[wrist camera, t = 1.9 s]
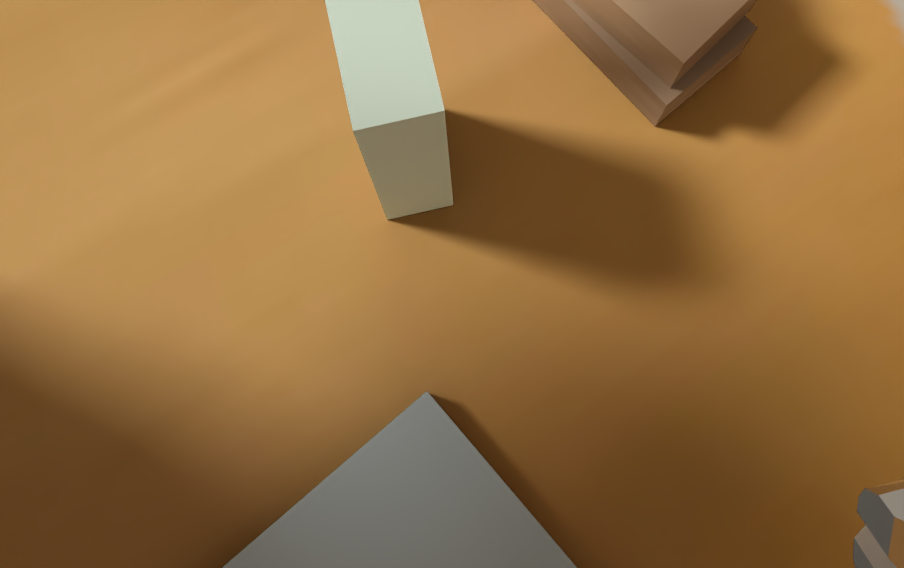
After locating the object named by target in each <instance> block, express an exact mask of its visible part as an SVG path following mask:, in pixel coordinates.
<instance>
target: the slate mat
mask: <svg viewBox="0 0 904 568" xmlns="http://www.w3.org/2000/svg"><path fill="white" fill-rule="evenodd" d="M222 568H577V567H576V566H575V565H574V564H573V562H572V561H571V560H570V559H569V558H568V556H567V555H566V554H565V553H564V552H563V551H562V549H561V548H560V547H559V546H558V545H557V544H556V542H555V541H554V540H553V539H552V538H551V536H550V535H549V534H548V533H547V532H546V531H545V529H544V528H543V527H542V526H541V525H540V524H539V522H538V521H537V520H536V519H535V518H534V516H533V515H532V514H531V513H530V512H529V511H528V509H527V508H526V507H525V506H524V505H523V504H522V502H521V501H520V500H519V499H518V498H517V496H516V495H515V494H514V493H513V492H512V491H511V489H510V488H509V487H508V486H507V485H506V484H505V482H504V481H503V480H502V479H501V478H500V476H499V475H498V474H497V473H496V472H495V471H494V469H493V468H492V467H491V466H490V465H489V464H488V462H487V461H486V460H485V459H484V458H483V456H482V455H481V454H480V453H479V452H478V451H477V449H476V448H475V447H474V446H473V445H472V444H471V442H470V441H469V440H468V439H467V438H466V436H465V435H464V434H463V433H462V432H461V431H460V429H459V428H458V427H457V426H456V425H455V423H454V422H453V421H452V420H451V419H450V418H449V416H448V415H447V414H446V413H445V412H444V411H443V409H442V408H441V407H440V406H439V405H438V403H437V402H436V401H435V400H434V399H433V398H432V396H431V395H430V394H429V393H428V392H427V391H426V392H425V393H424V394H423V395H422V396H420V397H419V398H418V399H417V400H416V401H415V402H414V403H412V404H411V405H410V406H409V407H408V408H407V409H405V410H404V411H403V412H402V413H401V414H400V415H398V416H397V417H396V418H395V419H394V420H393V421H391V422H390V423H389V424H388V425H387V426H386V427H385V428H383V429H382V430H381V431H380V432H379V433H378V434H376V435H375V436H374V437H373V438H372V439H371V440H369V441H368V442H367V443H366V444H365V445H364V446H363V447H361V448H360V449H359V450H358V451H357V452H356V453H354V454H353V455H352V456H351V457H350V458H349V459H347V460H346V461H345V462H344V463H343V464H342V465H340V466H339V467H338V468H337V469H336V470H335V471H334V472H332V473H331V474H330V475H329V476H328V477H327V478H325V479H324V480H323V481H322V482H321V483H320V484H318V485H317V486H316V487H315V488H314V489H313V490H312V491H310V492H309V493H308V494H307V495H306V496H305V497H303V498H302V499H301V500H300V501H299V502H298V503H296V504H295V505H294V506H293V507H292V508H291V509H290V510H288V511H287V512H286V513H285V514H284V515H283V516H281V517H280V518H279V519H278V520H277V521H276V522H274V523H273V524H272V525H271V526H270V527H269V528H267V529H266V530H265V531H264V532H263V533H262V534H261V535H259V536H258V537H257V538H256V539H255V540H254V541H252V542H251V543H250V544H249V545H248V546H247V547H245V548H244V549H243V550H242V551H241V552H240V553H239V554H237V555H236V556H235V557H234V558H233V559H232V560H230V561H229V562H228V563H227V564H226V565H225V566H223V567H222Z"/></svg>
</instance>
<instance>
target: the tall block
mask: <svg viewBox="0 0 904 568" xmlns="http://www.w3.org/2000/svg"><path fill="white" fill-rule="evenodd" d="M325 2H326V7H327V12H328V16H329V21H330V26H331V30H332V35H333V40H334V44H335V49H336V54H337V58H338V63H339V68H340V73H341V77H342V82H343V87H344V91H345V96H346V101H347V105H348V110H349V115H350V119H351V124H352V129H353V132H354V135H355V137H356V140H357V143H358V145H359V148H360V150H361V153H362V156H363V158H364V161H365V163H366V166H367V169H368V171H369V174H370V176H371V179H372V181H373V184H374V187H375V189H376V192H377V194H378V197H379V200H380V202H381V205H382V207H383V210H384V213H385V215H386V218H387V220H389V219H394V218H398V217H402V216H407V215H411V214H416V213H420V212H425V211H429V210H434V209H438V208H442V207H447V206H451V205H453V194H452V184H451V173H450V162H449V152H448V141H447V130H446V120H445V110H444V106H443V101H442V97H441V93H440V89H439V85H438V80H437V76H436V72H435V68H434V64H433V59H432V55H431V51H430V47H429V42H428V38H427V34H426V30H425V26H424V21H423V17H422V13H421V9H420V5H419V0H325Z"/></svg>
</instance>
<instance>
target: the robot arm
mask: <svg viewBox="0 0 904 568" xmlns="http://www.w3.org/2000/svg"><path fill="white" fill-rule="evenodd" d="M857 512H858V514H859V515H860V517H861V518H862V520H863V521H864V523H865V524H866V525H865V526H864V527H863V528H862V529H861V531H860V532H859V533H858V534H857V535H856V536H855V537H854V548H853V560H854V564H855V568H904V479H902V480H898V481H894V482H890V483H886V484H882V485H878V486H873V487H869V488H865V489H864V490H863V492H862V493H861V494H860V495H859V499H858V507H857Z"/></svg>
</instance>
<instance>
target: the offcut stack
mask: <svg viewBox="0 0 904 568" xmlns="http://www.w3.org/2000/svg"><path fill="white" fill-rule="evenodd" d="M533 1H534V2H535V3H536V4H537V5H538V6H539V7H540V8H541V9H542V10H543V11H544V12H545V13H546V14H547V15H548V16H549V17H550V19H551V20H552V21H553V22H554V23H555V24H556V25H557V26H558V27H559V28H560V29H561V30H562V31H563V32H564V33H565V34H566V35H567V36H568V37H569V38H570V39H571V40H572V41H573V42H574V43H575V44H576V45H577V46H578V47H579V48H580V49H581V50H582V52H583V53H584V54H585V55H586V56H587V57H588V58H589V59H590V60H591V61H592V62H593V63H594V64H595V65H596V66H597V67H598V68H599V69H600V70H601V71H602V72H603V73H604V74H605V75H606V76H607V77H608V78H609V79H610V80H611V81H612V82H613V84H614V85H615V86H616V87H617V88H618V89H619V90H620V91H621V92H622V93H623V94H624V95H625V96H626V97H627V98H628V99H629V100H630V101H631V102H632V103H633V104H634V105H635V106H636V107H637V108H638V109H639V110H640V111H641V112H642V113H643V114H644V116H645V117H646V118H647V119H648V120H649V121H650V122H651V123H652V124H653V125H654V126H656V125H657V124H658V123H660V122H661V121H662V120H663V119H664V118H666V117H667V116H668V115H669V114H670V113H671V112H673V111H674V110H675V109H676V108H677V107H678V106H680V105H681V104H682V103H683V102H684V101H685V100H687V99H688V98H689V97H690V96H691V95H693V94H694V93H695V92H696V91H697V90H698V89H700V88H701V87H702V86H703V85H704V84H705V83H707V82H708V81H709V80H710V79H711V78H712V77H714V76H715V75H716V74H717V73H718V72H720V71H721V70H722V69H723V68H724V67H725V66H727V65H728V64H729V63H730V62H731V61H732V60H734V59H735V58H736V57H737V56H738V55H739V54H741V52H742V51H743V49H744V48H745V46H746V45H747V43H748V42H749V40H750V39H751V37H752V36H753V34H754V33H755V31H756V30H757V27H756V26H755V25H754V24H753V23H752V22H751V21H750V20H749V19H747V18H746V17H745V15H746V14H747V13H748V12H749V11H750V10H751V8H752V7H753V5H754V4H755V2H756V0H533Z"/></svg>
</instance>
